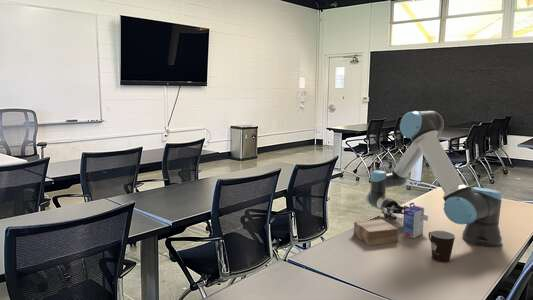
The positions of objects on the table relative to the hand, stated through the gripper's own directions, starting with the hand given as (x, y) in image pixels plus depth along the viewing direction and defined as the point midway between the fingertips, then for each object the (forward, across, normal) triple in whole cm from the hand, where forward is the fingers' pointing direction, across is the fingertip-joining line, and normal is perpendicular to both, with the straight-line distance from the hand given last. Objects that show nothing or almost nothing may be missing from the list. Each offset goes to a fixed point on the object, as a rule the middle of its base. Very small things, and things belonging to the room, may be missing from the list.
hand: (414, 219), depth 178 cm
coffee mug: (+23, +5, -8) cm, 25 cm away
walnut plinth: (-1, +19, -7) cm, 20 cm away
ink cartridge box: (-1, 0, -8) cm, 8 cm away
